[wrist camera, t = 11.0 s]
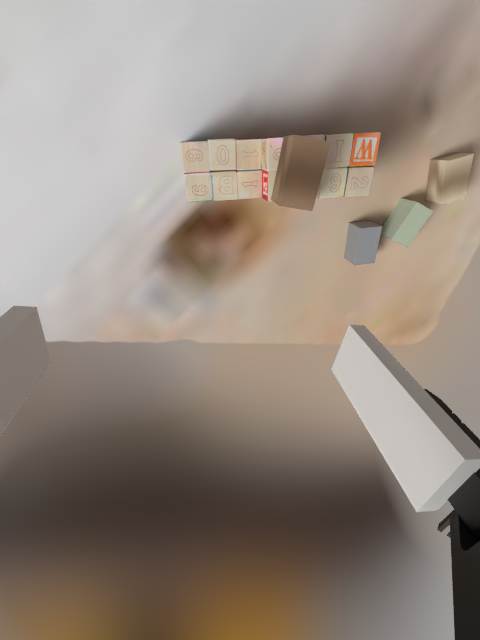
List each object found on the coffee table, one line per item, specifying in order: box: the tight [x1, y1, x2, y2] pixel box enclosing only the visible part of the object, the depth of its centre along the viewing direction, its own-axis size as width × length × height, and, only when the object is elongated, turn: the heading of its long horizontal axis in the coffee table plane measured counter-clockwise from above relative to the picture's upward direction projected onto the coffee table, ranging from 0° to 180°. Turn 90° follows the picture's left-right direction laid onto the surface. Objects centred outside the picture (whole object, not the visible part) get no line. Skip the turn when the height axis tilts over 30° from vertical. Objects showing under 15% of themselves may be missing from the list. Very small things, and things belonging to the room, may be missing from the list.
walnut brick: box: [271, 135, 331, 211], centre depth 28 cm, size 6×4×4 cm, turn 171°
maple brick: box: [425, 153, 474, 204], centre depth 42 cm, size 6×4×4 cm, turn 14°
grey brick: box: [344, 221, 382, 265], centre depth 46 cm, size 6×4×4 cm, turn 3°
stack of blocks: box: [180, 132, 381, 202], centre depth 35 cm, size 21×6×12 cm, turn 92°
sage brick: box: [381, 198, 433, 247], centre depth 45 cm, size 6×4×4 cm, turn 156°
